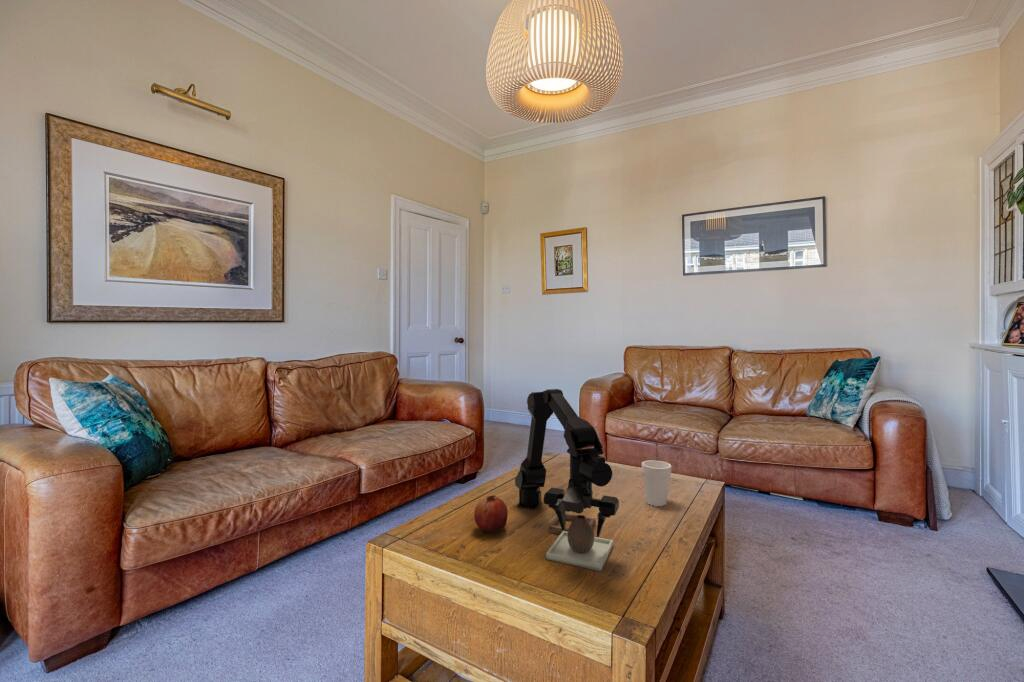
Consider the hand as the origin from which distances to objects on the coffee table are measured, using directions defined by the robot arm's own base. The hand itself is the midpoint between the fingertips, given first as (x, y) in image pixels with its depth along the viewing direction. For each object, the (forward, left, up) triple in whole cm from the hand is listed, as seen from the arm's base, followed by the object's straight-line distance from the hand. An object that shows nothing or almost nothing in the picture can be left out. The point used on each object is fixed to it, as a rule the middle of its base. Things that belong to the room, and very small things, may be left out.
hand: (580, 533), depth 117 cm
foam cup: (+14, +43, -5) cm, 46 cm away
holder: (-6, +13, -5) cm, 15 cm away
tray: (0, 0, -5) cm, 5 cm away
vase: (0, 0, -5) cm, 5 cm away
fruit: (-27, +2, -5) cm, 28 cm away
